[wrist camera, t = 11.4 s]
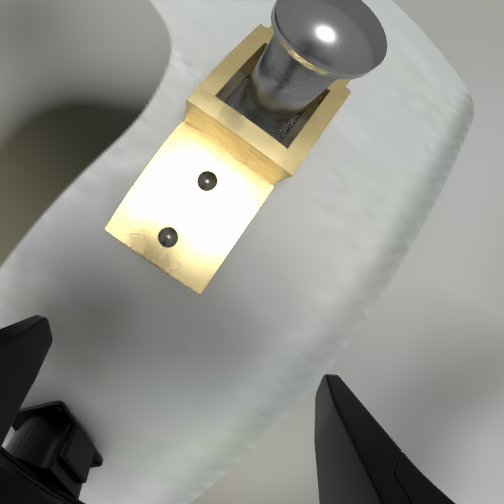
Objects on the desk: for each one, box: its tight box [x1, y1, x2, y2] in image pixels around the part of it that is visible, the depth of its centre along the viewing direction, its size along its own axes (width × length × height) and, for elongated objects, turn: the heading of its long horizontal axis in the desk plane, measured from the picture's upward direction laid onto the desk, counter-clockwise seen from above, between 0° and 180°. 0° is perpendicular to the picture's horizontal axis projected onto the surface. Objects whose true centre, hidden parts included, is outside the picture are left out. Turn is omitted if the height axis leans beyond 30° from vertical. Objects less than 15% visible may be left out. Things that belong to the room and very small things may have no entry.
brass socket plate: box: [105, 24, 351, 295], centre depth 17 cm, size 23×7×4 cm, turn 144°
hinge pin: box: [234, 0, 387, 137], centre depth 14 cm, size 4×4×12 cm
